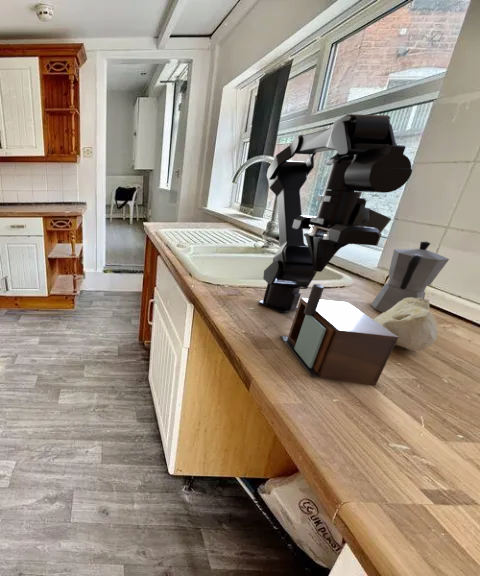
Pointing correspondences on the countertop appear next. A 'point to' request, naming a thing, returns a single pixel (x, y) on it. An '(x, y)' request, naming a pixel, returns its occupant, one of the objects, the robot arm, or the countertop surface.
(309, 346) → the cleaver
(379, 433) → the countertop surface
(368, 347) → the cabinet
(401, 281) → the coffeepot
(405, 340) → the beige rock
